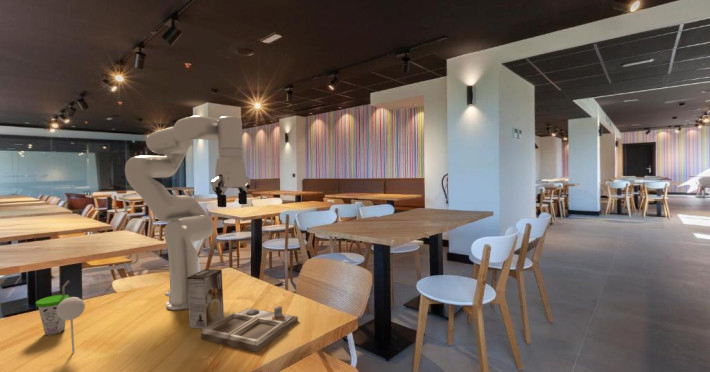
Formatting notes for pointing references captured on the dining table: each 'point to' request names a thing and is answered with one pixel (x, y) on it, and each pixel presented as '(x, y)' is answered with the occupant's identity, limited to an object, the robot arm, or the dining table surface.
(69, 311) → the lollipop
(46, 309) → the cup
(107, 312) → the dining table surface
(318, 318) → the dining table surface
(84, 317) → the dining table surface
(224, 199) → the robot arm
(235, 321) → the grey compartment tray
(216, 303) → the coffee box
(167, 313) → the dining table surface
